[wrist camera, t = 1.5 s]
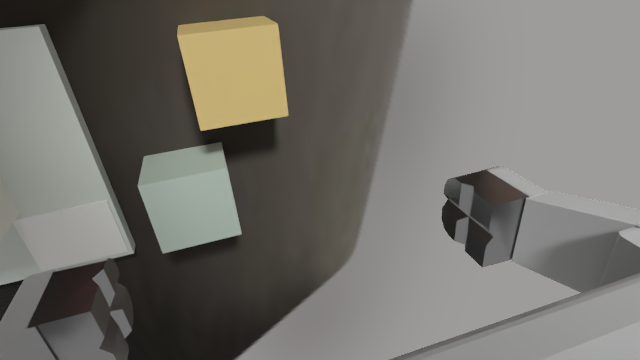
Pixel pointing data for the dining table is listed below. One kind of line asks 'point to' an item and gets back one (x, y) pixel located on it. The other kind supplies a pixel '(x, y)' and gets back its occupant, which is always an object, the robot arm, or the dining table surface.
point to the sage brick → (189, 197)
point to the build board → (49, 167)
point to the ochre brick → (234, 71)
